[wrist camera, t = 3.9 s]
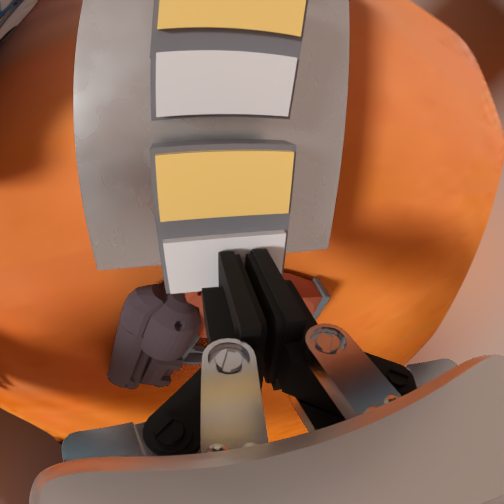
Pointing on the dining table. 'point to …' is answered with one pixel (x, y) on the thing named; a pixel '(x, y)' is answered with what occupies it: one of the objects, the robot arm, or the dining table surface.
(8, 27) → the athletic shoe
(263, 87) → the switch
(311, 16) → the switch unit
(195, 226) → the switch
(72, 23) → the dining table surface
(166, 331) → the toy gun
